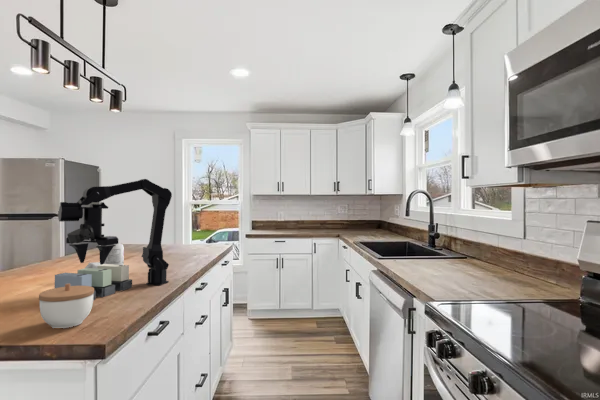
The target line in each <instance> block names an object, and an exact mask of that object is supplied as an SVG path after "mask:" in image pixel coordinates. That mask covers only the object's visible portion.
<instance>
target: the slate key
mask: <svg viewBox="0 0 600 400" xmlns="http://www.w3.org/2000/svg"><path fill="white" fill-rule="evenodd" d="M65 284H70V286H90V287H91V284H92V274H79V273H76V272H75V273H74V272H62V273H58V274H54V288H59V287H65Z"/></svg>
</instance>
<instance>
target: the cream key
mask: <svg viewBox="0 0 600 400" xmlns="http://www.w3.org/2000/svg"><path fill="white" fill-rule="evenodd" d="M97 269H112V273H111V281H125V280H128V279H130V274H129V273H130V265H129V264H128V265H127V264H124V265H115V264H103V265H98V266H97Z"/></svg>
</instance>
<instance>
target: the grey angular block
mask: <svg viewBox="0 0 600 400" xmlns="http://www.w3.org/2000/svg"><path fill="white" fill-rule="evenodd" d="M98 265H101V264H100V261H99V262H98V261H97V262H94V261H93V262H88V264H87V265H86V266H85V267H84V268H95V269H97V266H98ZM102 265H103V264H102Z"/></svg>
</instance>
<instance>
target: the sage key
mask: <svg viewBox="0 0 600 400" xmlns="http://www.w3.org/2000/svg"><path fill="white" fill-rule="evenodd" d="M77 273H79V274H92V284H91V286H96V287H105V286H108V285H111V273H112V269H95V268H85V267H84V268H80V269H77Z"/></svg>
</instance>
